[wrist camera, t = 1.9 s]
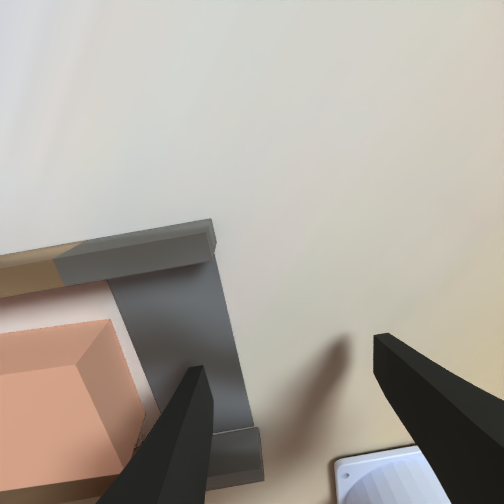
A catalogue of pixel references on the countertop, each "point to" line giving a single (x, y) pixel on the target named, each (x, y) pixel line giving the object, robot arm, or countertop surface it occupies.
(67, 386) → the brick block
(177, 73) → the countertop surface
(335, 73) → the countertop surface
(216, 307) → the channel
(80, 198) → the countertop surface
